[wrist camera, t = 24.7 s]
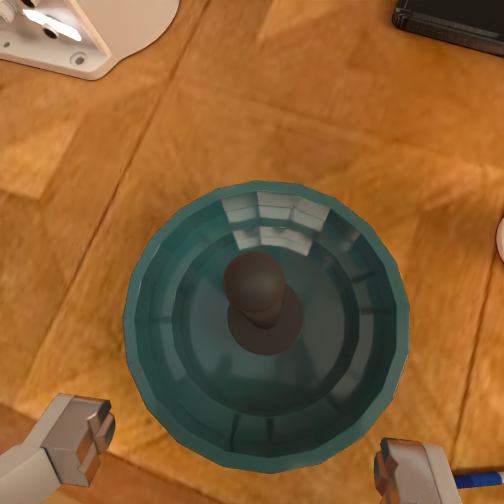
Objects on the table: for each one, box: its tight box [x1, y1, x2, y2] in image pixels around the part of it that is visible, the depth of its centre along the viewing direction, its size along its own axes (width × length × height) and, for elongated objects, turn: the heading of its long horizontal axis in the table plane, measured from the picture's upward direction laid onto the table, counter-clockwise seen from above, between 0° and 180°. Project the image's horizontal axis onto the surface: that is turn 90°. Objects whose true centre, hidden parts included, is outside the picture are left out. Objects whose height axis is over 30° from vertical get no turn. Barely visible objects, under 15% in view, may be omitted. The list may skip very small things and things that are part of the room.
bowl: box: [123, 180, 410, 474], centre depth 25 cm, size 18×18×6 cm
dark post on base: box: [223, 251, 304, 355], centre depth 18 cm, size 5×5×18 cm
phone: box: [392, 0, 504, 57], centre depth 33 cm, size 8×1×15 cm
